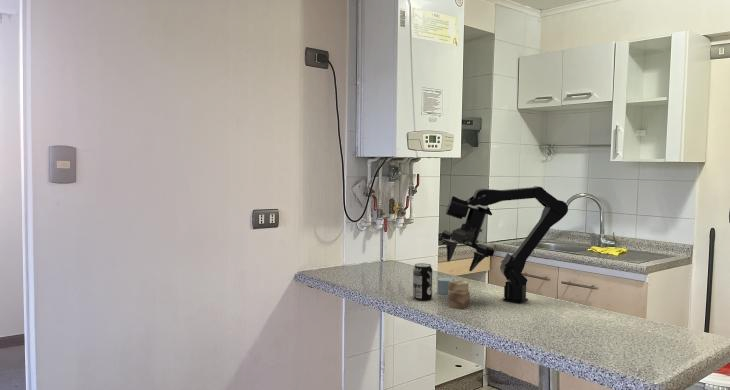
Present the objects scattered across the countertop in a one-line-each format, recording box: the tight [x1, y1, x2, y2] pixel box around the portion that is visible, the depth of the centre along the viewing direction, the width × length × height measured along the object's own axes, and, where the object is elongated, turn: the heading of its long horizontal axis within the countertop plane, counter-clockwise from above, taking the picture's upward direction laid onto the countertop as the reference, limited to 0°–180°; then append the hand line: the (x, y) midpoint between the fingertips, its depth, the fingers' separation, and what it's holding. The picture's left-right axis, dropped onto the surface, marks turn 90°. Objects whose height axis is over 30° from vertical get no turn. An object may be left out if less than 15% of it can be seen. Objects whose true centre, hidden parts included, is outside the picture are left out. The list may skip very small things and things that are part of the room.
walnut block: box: [448, 289, 471, 310], centre depth 173 cm, size 5×5×5 cm
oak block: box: [448, 279, 470, 296], centre depth 187 cm, size 5×5×5 cm
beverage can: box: [412, 262, 433, 302], centre depth 183 cm, size 7×7×12 cm
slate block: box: [437, 277, 455, 296], centre depth 192 cm, size 5×5×5 cm
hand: (459, 266), depth 182 cm, fingers open, 9 cm apart
